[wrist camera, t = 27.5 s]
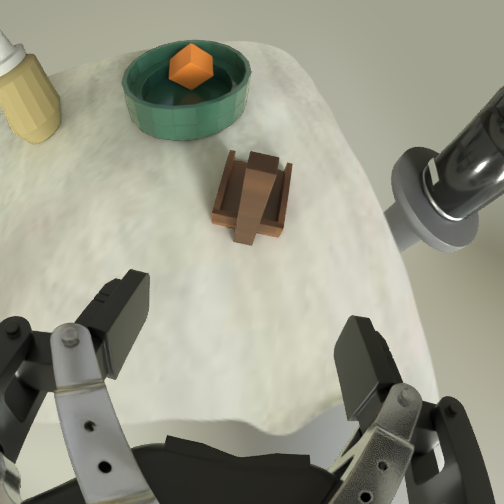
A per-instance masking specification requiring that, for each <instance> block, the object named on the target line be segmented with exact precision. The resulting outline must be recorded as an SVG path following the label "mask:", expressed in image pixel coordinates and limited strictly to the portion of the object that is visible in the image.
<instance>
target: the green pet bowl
mask: <svg viewBox="0 0 504 504" xmlns="http://www.w3.org/2000/svg"><path fill="white" fill-rule="evenodd" d="M190 43H192V44H194V45H195V46H197V47H199V48H200V49H202V50H203V51H205V52H206V53H208V54H210V55H211V56H212V59H213V76H212V77H211V78H209V79H208V80H206V81H205V82H203V83H202V84H200V85H199V86H197V87H196V88H194V89H193V90H190V89H188V88H186V87H184V86H182V85H180V84H178V83H176V82H174V81H172V80H170V79H169V68H170V59H171V58H172V57H173V56H175V55H176V54H177V53H178V52H180V51H181V50H182V49H184V48H185V47H186V46H188V45H189V44H190ZM250 77H251V68H250V64H249V61H248V60H247V59H246V58H245V57H244V56H243V55H242V53H240V52H239V51H237V50H235V49H233V48H232V47H230V46H228V45H224V44H221V43H217V42H213V41H204V40H186V41H178V42H173V43H168V44H164V45H161V46H158V47H156V48H154V49H151V50H149V51H147V52H145V53H144V54H142V55H141V56H139V57H138V58H137V59H135V60H134V61H133V62H132V63H131V64H130V66H129V67H128V68H127V69H126V71H125V73H124V76H123V79H122V86H123V90H124V94H125V97H126V101H127V105H128V109H129V112H130V116H131V119H132V122H133V123H134V124H135V125H136V126H137V127H138V128H139V129H140V130H141V131H142V132H145V133H147V134H149V135H152V136H154V137H156V138H161V139H168V140H175V141H176V140H177V141H178V140H190V139H199V138H202V137H205V136H209V135H212V134H215V133H218V132H220V131H222V130H223V129H225V128H227V127H228V126H230V125H232V124H233V123H234V122H235V121H236V120H237V119H238V118H239V116H240V115H241V114H242V113H243V111H244V108H245V105H246V102H247V96H248V90H249V84H250Z"/></svg>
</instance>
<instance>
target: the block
mask: <svg viewBox="0 0 504 504" xmlns="http://www.w3.org/2000/svg"><path fill="white" fill-rule="evenodd" d="M212 76H213V59H212V56H211V55H210V54H208V53H206V52H205V51H203V50H202V49H200V48H199V47H197V46H195V45H194V44H192V43H190V44H189V45H188V46H186V47H185V48H184V49H182V50H181V51H180V52H178V53H177V54H176V55H175V56H173V57H172V58H171V59H170V68H169V79H170V80H172V81H174V82H176V83H178V84H180V85H182V86H184V87H186V88H188V89H190V90H193V89H194V88H196V87H197V86H199V85H200V84H202V83H203V82H205V81H206V80H208V79H209V78H211V77H212Z"/></svg>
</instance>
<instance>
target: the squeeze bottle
mask: <svg viewBox="0 0 504 504" xmlns="http://www.w3.org/2000/svg"><path fill="white" fill-rule="evenodd" d="M0 106H1V108H2V111H3V113H4V115H5V117H6V119H7V121H8V123H9V125H10V127H11V129H12V131H13V133H14V134H15V135H17V136H19V137H21V138H22V139H24V140H26V141H28V142H29V143H32V144H37V143H41V142H42V141H44V140H46V139H48V138H49V137H50V136H51V135H52V134H53V133H54V132H55V131H56V130H57V129H58V127H59V125H60V123H61V111H60V96H59V95H58V93H57V91H56V90H55V88H54V87H53V85H52V83H51V82H50V80H49V78H48V77H47V75H46V73H45V72H44V70H43V68H42V67H41V65H40V63H39V61H38V60H37V58H36V56H35V55H34V54H26V52H25V49H24V47H23V45H22V44H17V45H14V46H13V45H12V44H11V43H10V41H9V40H8V39H7V38H6V36H5V35H4V34H3V32H2V31H0Z"/></svg>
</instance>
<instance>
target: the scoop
mask: <svg viewBox="0 0 504 504" xmlns="http://www.w3.org/2000/svg"><path fill="white" fill-rule="evenodd" d="M235 152H236V151H233V150H230V152H229V155H228V158H227V162H226V165H225V169H224V172H223V175H222V179H221V182H220V186H219V190H218V193H217V197H216V200H215V204H214V208H213V211H212V223H213V224H218V225H222V226H227V227H232V228H236V229H235V235H234V242H237V243H242V244H246V245H252V244H253V241H254V238H255V235H256V233H260V234H264V235H269V236H273V237H279V236H280V234H281V232H282V230H283V228H284V221H285V214H286V207H287V200H288V193H289V186H290V179H291V172H292V164H291V163H287V164H286V167H285V169H284V171H281V170H278V164H279V157H275V156H270V155H266V154H261V153H257V152H252V151H251V152H250V156H249V160H248V163H246V162H241V161H236V160H235Z"/></svg>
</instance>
